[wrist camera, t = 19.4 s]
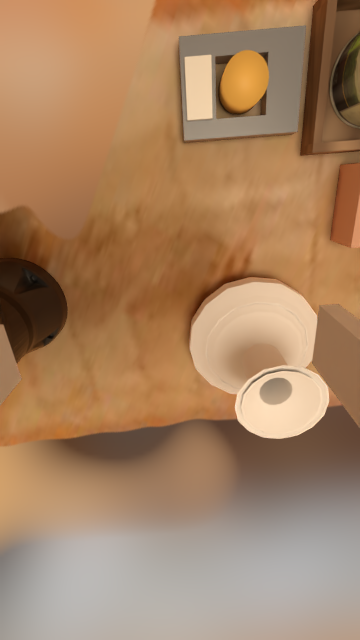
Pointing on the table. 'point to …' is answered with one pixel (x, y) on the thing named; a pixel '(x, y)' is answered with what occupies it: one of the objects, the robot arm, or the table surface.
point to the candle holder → (261, 355)
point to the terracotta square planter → (347, 207)
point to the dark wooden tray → (328, 78)
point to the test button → (243, 82)
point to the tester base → (276, 103)
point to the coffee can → (347, 83)
